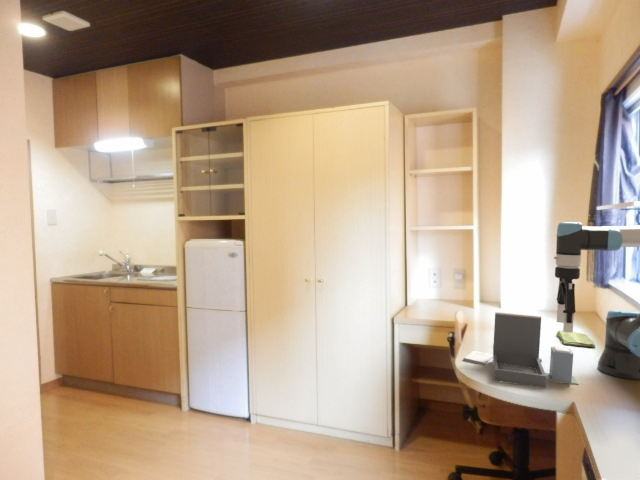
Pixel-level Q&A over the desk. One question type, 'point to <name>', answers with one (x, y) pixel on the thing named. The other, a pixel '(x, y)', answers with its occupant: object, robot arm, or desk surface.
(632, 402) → the desk surface
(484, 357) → the external hard drive
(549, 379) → the mat
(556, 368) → the block
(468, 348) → the desk surface
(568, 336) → the washcloth
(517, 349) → the case
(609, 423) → the desk surface
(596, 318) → the desk surface
